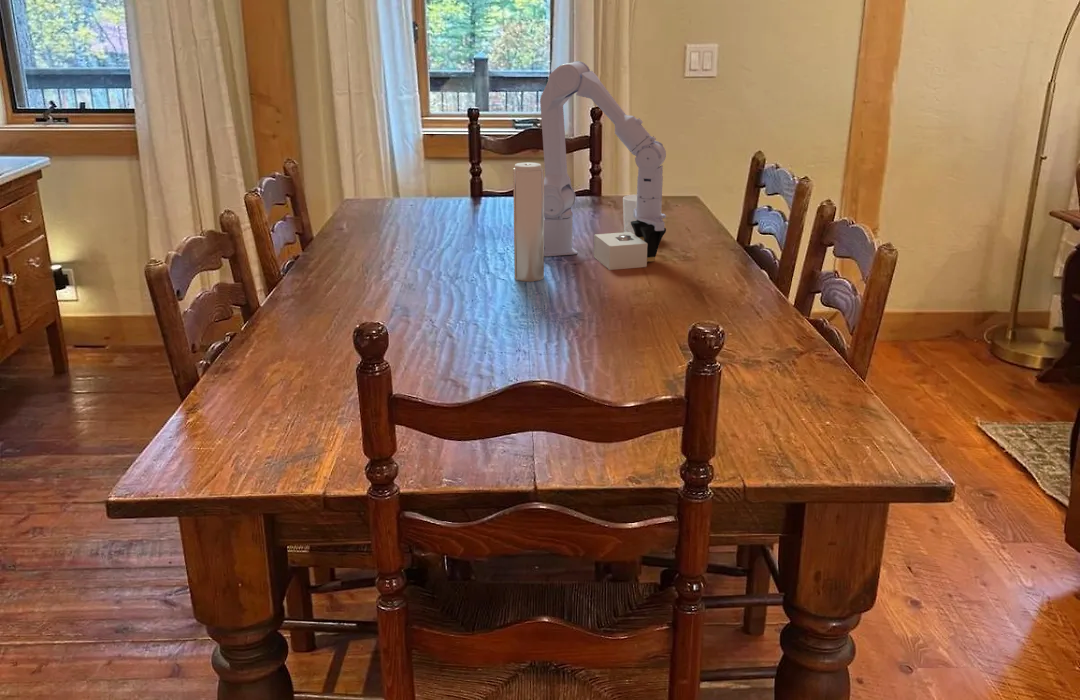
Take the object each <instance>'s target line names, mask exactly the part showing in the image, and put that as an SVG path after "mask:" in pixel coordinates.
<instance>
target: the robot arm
mask: <svg viewBox="0 0 1080 700" xmlns="http://www.w3.org/2000/svg"><path fill="white" fill-rule="evenodd" d="M574 94H576V96H577V97H582V98H586V99H590V100H591V101H592V102H593V103H594V104H595V105H596V106H597V107H598V108H599V110H601V111H602V113H603V114H604V115H605V116H606V117H607V119H608V120H610V121H611V122H612V123H613V125H614V134H615V135H616V137H617V138H618V139H619V140H620V141H621V142H622V144H623V145H624V146H625V147H626V149H627V150H628V151H629V152H630V153H631V155H633V156H635V157H634V162H635V164H636V166H637V167H638V172H637V174H638V176H637V179H636V181H637V185H636V186H637V187H636V195H637V207H636V209H634V210H633V217H635V219H636V221H631V225H632V227H633V230H634V232H635V235H636V236H637V237H644V241H645V242H646V243H648V244H647V257H655V258H656V256H657V253H658V250H659V247H660V244H661V240H662V238H663V236H664V235H665V234H666V232H667V228H666V227H665V225H666V224H665V221H663V219H666V218H667V216H666V214H665V213H662V206H663V205H662V202H663V184H664V183H663V181H664V180H663V179H664V176H663V173H664V172H663V169H664V168H663V167H664V166H663V163H664V162H665V160H666V158H667V151H666V149H665V147H664V145H663V143H662V142H660V141H657V138H656V137H655V136H654V135H653V136H651V134H650V133H649V132H648V130H647V129H646V128H645V127H644V126H643V123H644V121H643V120H642V118H639V117H638V118H637V117H636V116H634V115H627V114H626V113H625V111H624V110H623V109H622V108H621V106H620V105H619V104H618V102H617V101H616V100H615V98H614V97H613V96H612V94H611V93H610V92H609V91H608V90H607V88H606V87H605V85H604V84H603V82H602V81H601V80H600V78H599V77H598V75H597V74H596V73H595V72H594V71H593V70H590V68H589V66H588V65H587V63H585V62H583V61H579V60H576V61H572V62H569V63H564V64H560V65H559V66H557V67H556V68H555V69H554V70H553V71H552V72H551V73H549V76H548V81H547V83H546V85H545V87H544V89H543V92H542V93H541V95H540V100H539V105H540V118H541V132H542V147H543V159H544V160H543V161H544V162H543V163H544V258H545V257H554V256H569V255H577V254H579V253H578V251H577V250H576V249H575V248H573V224H574V223H573V220H574V219H573V215H574V213H573V211H572V207H573V206H574V205H575V203H576V199H577V198H576V192H575V191H574V188H573V187H572V186H573V185H572V181H571V177H570V176H569V174H568V166H567V165H568V164H567V149H566V148H567V146H566V145H567V144H566V133H565V131H566V130H565V114H564V105H565V104H566V103H568V101H569V100H570V99H571V98H572V96H573V95H574Z"/></svg>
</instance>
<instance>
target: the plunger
mask: <svg viewBox="0 0 1080 700" xmlns="http://www.w3.org/2000/svg"><path fill="white" fill-rule="evenodd" d="M628 240H631V236H630V235H619V241H628Z"/></svg>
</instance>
